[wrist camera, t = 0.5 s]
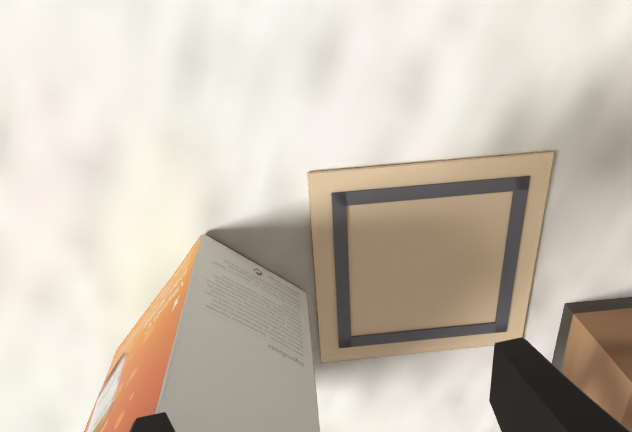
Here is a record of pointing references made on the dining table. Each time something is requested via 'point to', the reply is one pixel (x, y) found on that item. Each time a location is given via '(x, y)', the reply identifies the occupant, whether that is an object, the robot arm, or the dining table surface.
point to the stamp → (599, 353)
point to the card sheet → (425, 253)
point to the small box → (216, 353)
